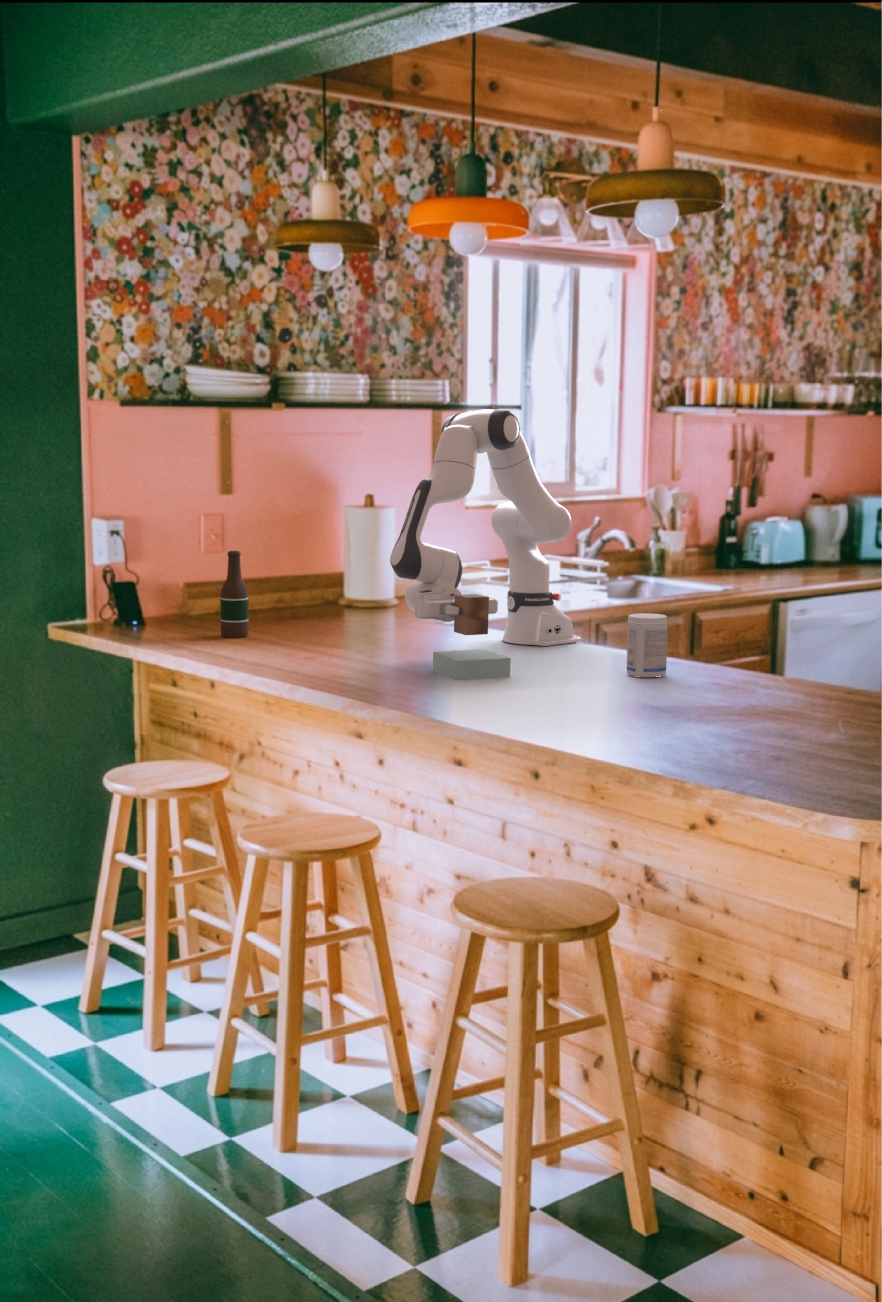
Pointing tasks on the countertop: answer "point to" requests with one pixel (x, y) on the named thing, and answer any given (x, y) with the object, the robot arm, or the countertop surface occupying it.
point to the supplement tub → (647, 645)
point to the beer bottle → (234, 601)
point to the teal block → (471, 664)
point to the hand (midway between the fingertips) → (473, 610)
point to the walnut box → (472, 614)
